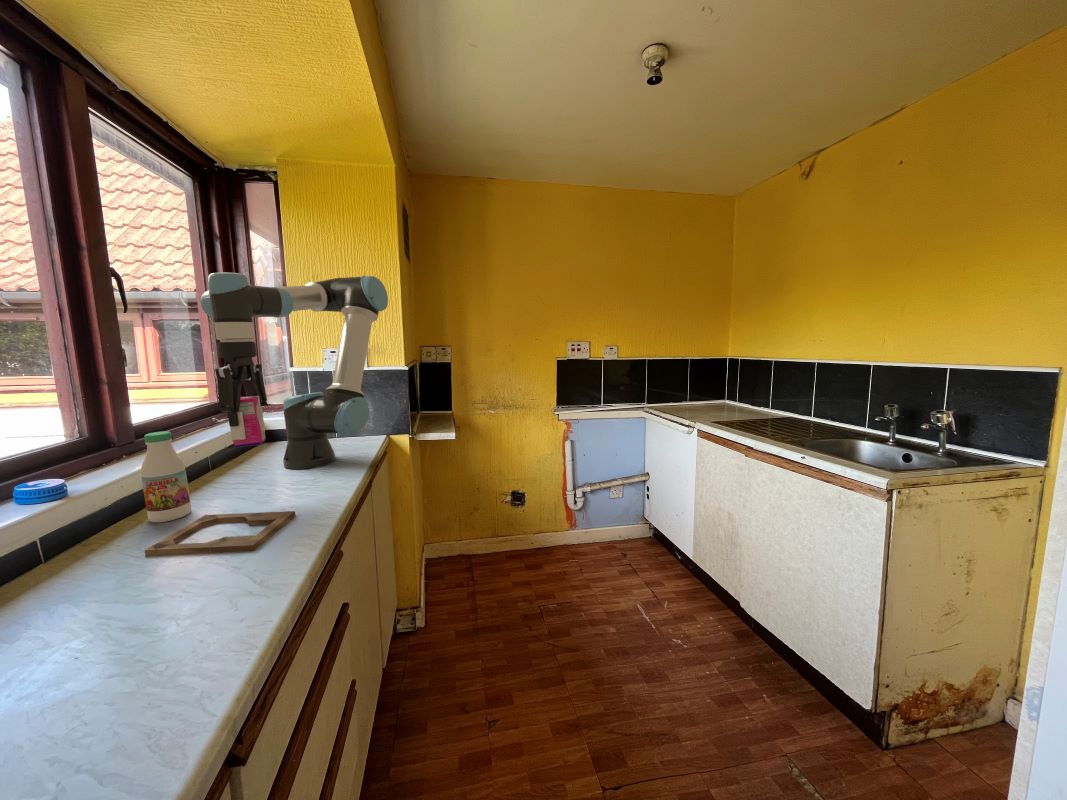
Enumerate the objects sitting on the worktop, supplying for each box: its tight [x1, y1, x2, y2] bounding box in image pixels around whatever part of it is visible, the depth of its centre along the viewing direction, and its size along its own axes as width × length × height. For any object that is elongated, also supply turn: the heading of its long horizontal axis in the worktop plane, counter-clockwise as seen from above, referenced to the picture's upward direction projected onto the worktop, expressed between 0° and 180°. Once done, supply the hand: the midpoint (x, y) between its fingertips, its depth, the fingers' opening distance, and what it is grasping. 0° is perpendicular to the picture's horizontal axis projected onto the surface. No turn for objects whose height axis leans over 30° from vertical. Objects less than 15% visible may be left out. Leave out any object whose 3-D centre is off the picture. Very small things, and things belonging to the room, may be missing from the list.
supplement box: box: [232, 396, 267, 448], centre depth 101 cm, size 6×6×12 cm
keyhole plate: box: [144, 510, 297, 557], centre depth 88 cm, size 16×20×1 cm
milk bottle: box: [140, 431, 192, 523], centre depth 96 cm, size 8×8×20 cm
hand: (249, 435), depth 102 cm, fingers closed on supplement box, 7 cm apart
